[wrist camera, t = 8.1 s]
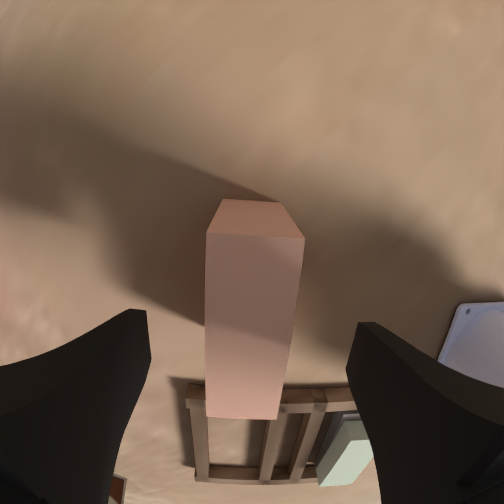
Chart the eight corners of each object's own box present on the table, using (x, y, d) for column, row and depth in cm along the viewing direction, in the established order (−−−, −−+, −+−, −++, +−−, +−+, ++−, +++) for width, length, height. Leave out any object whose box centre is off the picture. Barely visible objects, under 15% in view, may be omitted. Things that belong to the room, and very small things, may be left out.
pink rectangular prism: (280, 202, 16) (305, 238, 9) (267, 334, 18) (276, 419, 12) (223, 198, 16) (206, 232, 9) (217, 331, 18) (206, 416, 12)
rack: (391, 383, 20) (398, 396, 19) (349, 466, 24) (352, 477, 22) (188, 383, 20) (185, 398, 18) (196, 469, 23) (195, 481, 22)
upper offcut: (379, 419, 19) (386, 437, 18) (346, 467, 22) (351, 484, 20) (344, 421, 19) (350, 440, 17) (315, 469, 21) (319, 486, 19)
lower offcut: (372, 393, 21) (380, 410, 19) (343, 456, 24) (347, 471, 22) (337, 396, 21) (343, 414, 19) (313, 458, 24) (316, 474, 22)
